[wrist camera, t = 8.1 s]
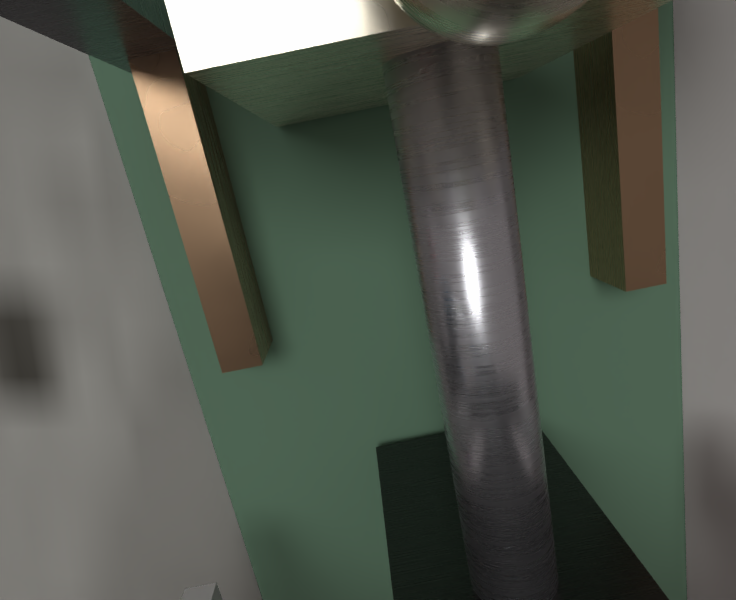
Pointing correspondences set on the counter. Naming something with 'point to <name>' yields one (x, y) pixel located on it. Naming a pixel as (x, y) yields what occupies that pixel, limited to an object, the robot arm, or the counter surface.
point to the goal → (217, 200)
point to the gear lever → (445, 268)
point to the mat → (411, 331)
